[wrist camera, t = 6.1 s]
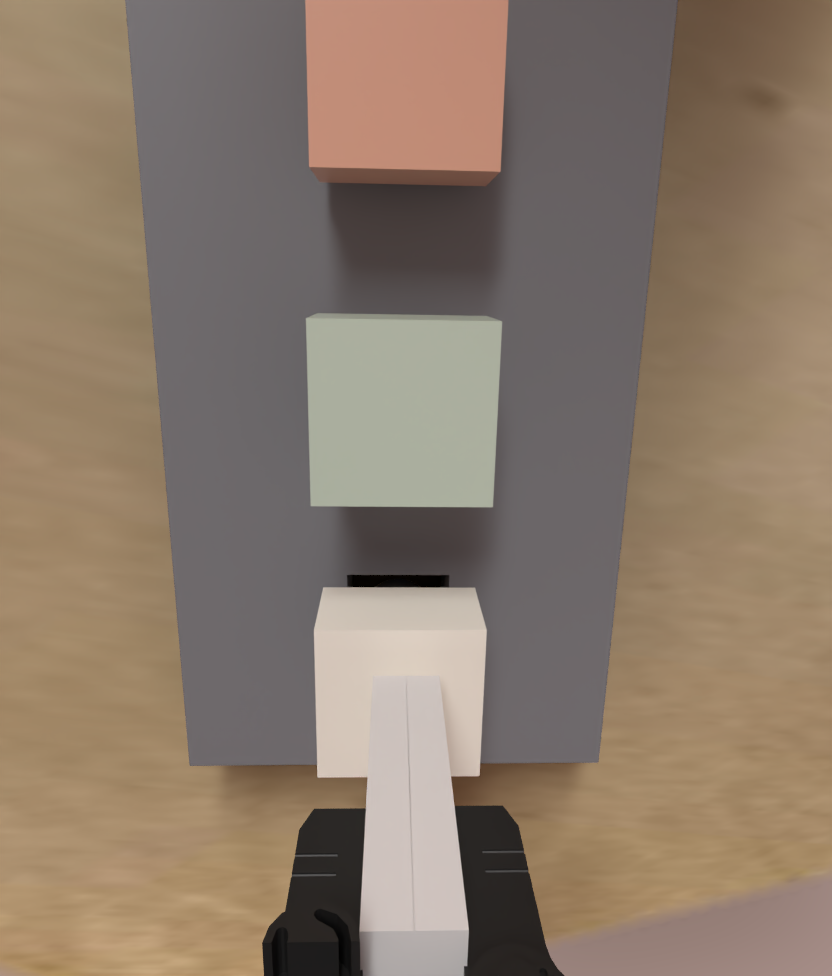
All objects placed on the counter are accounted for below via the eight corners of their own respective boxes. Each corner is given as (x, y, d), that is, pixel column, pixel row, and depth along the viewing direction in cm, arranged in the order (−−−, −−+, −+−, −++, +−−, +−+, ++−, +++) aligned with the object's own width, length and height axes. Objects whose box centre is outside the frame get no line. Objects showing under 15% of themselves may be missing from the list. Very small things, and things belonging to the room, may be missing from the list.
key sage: (330, 450, 21) (310, 506, 16) (327, 308, 19) (305, 318, 14) (468, 452, 21) (492, 507, 16) (473, 310, 20) (502, 321, 15)
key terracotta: (330, 196, 20) (308, 167, 15) (327, 33, 19) (304, -60, 14) (472, 199, 20) (500, 171, 15) (478, 38, 19) (510, -52, 14)
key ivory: (334, 665, 23) (317, 777, 17) (332, 547, 21) (313, 630, 16) (459, 665, 23) (479, 776, 18) (464, 547, 22) (487, 630, 16)
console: (212, 710, 25) (189, 765, 22) (155, -92, 19) (111, -161, 16) (574, 708, 26) (598, 762, 23) (646, -74, 19) (692, -137, 16)
